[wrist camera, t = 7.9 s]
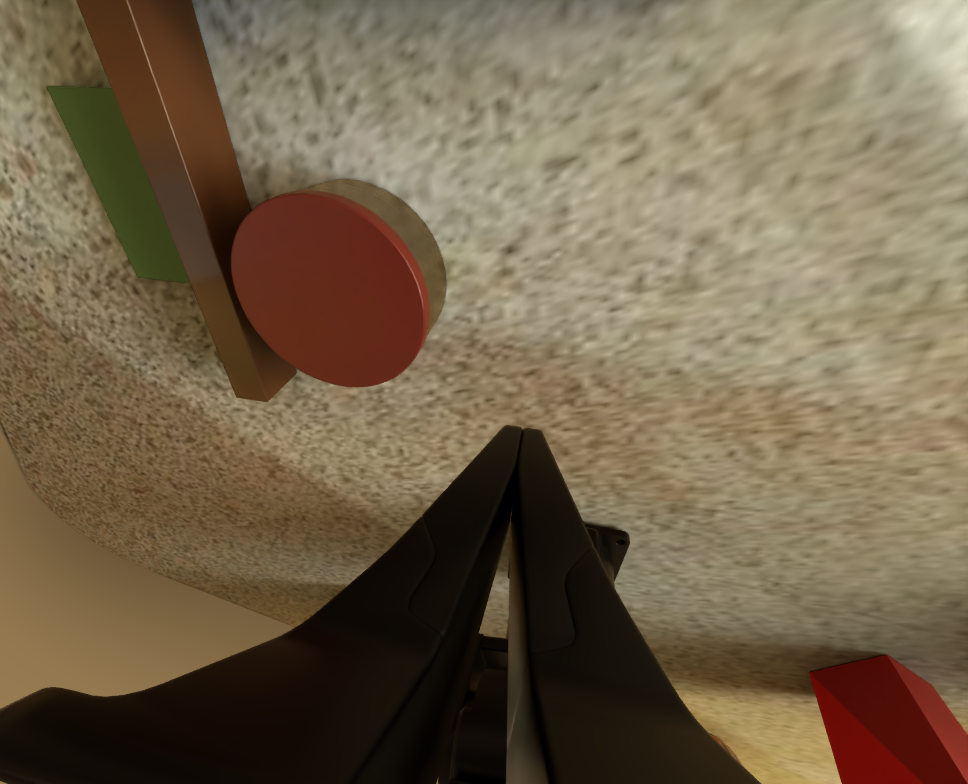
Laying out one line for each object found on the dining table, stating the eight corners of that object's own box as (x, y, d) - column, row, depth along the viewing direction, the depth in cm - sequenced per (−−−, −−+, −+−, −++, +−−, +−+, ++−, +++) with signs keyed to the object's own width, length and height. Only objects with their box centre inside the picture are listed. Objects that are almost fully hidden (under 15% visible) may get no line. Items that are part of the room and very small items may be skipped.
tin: (451, 356, 18) (431, 397, 16) (306, 341, 19) (265, 377, 17) (444, 181, 14) (415, 199, 12) (260, 173, 15) (196, 188, 13)
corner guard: (598, 413, 19) (601, 451, 17) (268, 369, 21) (236, 398, 19) (727, -99, 10) (766, -149, 8) (118, -86, 12) (24, -124, 10)
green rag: (222, 283, 18) (216, 286, 18) (144, 274, 19) (136, 277, 19) (153, 90, 14) (144, 89, 14) (56, 85, 15) (44, 85, 15)
